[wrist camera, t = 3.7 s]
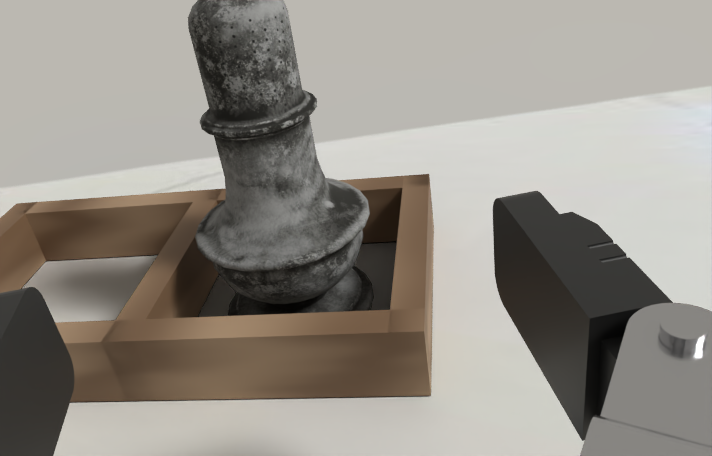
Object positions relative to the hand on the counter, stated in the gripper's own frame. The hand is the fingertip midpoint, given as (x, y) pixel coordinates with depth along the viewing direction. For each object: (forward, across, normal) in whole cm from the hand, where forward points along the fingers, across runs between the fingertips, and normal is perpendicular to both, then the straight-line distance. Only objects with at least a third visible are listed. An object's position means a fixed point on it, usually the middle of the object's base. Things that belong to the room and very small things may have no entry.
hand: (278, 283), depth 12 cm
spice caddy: (+11, +4, +8) cm, 14 cm away
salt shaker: (+10, 0, +8) cm, 12 cm away
